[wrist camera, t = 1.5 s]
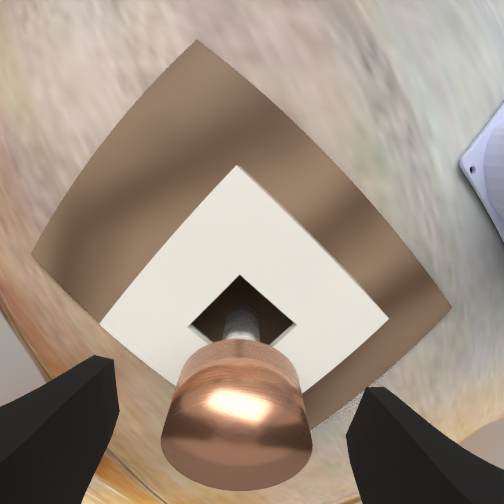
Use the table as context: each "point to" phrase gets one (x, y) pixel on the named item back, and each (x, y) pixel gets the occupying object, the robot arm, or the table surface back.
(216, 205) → the hollow square block
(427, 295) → the board
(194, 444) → the plunger
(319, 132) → the table surface
